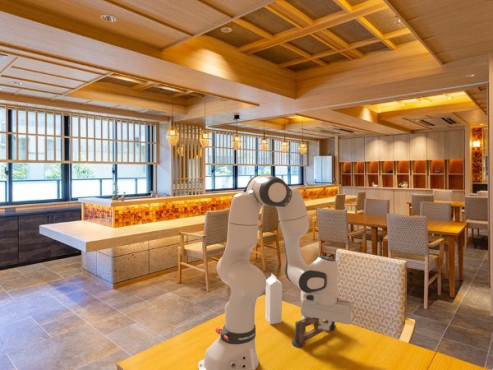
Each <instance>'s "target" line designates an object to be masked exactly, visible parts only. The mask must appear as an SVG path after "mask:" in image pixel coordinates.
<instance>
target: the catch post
mask: <svg viewBox="0 0 493 370" xmlns="http://www.w3.org/2000/svg"><path fill="white" fill-rule="evenodd" d="M299 321H300V320H298V321H295V327H294V328H295V329H294V334H295V336H294V337H295V338H293V339H292V341H291V344H292V346H293V347H295V348H301V347H304V345H305V344H304V345H301V344H299Z"/></svg>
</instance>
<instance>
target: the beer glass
mask: <svg viewBox="0 0 493 370" xmlns="http://www.w3.org/2000/svg"><path fill="white" fill-rule="evenodd" d="M304 294H305V292H304V291H302V290H301V289H300V304H302V301H303V300H304ZM307 317H309V316H304V315H302V314H301V320H303V319H305V318H307Z"/></svg>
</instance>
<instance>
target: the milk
mask: <svg viewBox="0 0 493 370" xmlns="http://www.w3.org/2000/svg"><path fill="white" fill-rule="evenodd" d="M264 301H265V303H264V304H265V305H264V309H265V310H264V313H265V315H264V317H265V321H267V322H268V324H269V325H275V324H281V323H282V322H283V321H282V320H283V319H282V318H283V317H282V315H283V313H282V312H283V283H282V282H281V281H280V280H279V279H278V278H277V276H275V274H273V273H272V272H271V275H270V276H269V277H268V278H266V288H265V299H264Z"/></svg>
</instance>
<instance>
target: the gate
mask: <svg viewBox="0 0 493 370" xmlns="http://www.w3.org/2000/svg"><path fill="white" fill-rule="evenodd" d="M298 321H299V344H301V345H306V341H308V340H310V339H311V338H314V337H316V336H317V335H319V334H322V333H323V332H325V331H326V330H323V329H322V325H320V326H318V322H319V318H314V317H307V318H305V319H300V320H298ZM312 324H313V329H311V330H309V331H308V332H307V330H306V327H308V326H311V325H312ZM324 324H329V323H328V320H326V323H324ZM331 329H332V324H331V325H330V329H329V331H331Z"/></svg>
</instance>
